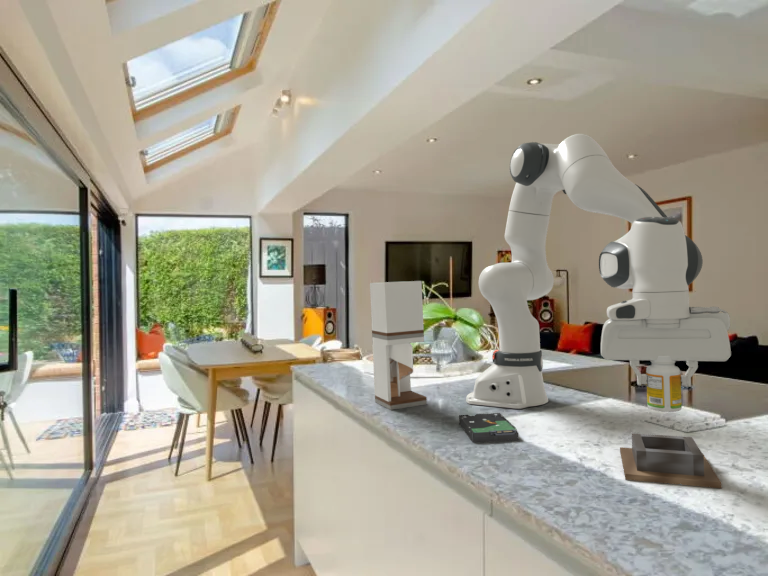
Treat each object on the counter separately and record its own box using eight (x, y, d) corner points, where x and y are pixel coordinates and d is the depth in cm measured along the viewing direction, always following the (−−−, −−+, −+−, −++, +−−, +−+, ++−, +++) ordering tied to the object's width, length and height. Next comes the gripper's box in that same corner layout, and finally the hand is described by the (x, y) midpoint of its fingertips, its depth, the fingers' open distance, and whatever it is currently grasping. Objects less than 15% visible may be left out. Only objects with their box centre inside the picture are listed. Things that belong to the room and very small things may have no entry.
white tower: (390, 409, 141) (384, 282, 140) (375, 402, 150) (369, 283, 150) (426, 404, 145) (421, 280, 145) (409, 396, 155) (404, 281, 154)
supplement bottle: (678, 405, 93) (676, 352, 93) (685, 413, 88) (683, 356, 87) (644, 404, 94) (643, 351, 94) (650, 411, 89) (648, 356, 89)
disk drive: (458, 426, 125) (472, 445, 110) (457, 414, 125) (472, 432, 110) (500, 423, 125) (520, 441, 111) (499, 412, 125) (519, 429, 111)
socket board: (625, 479, 87) (624, 453, 87) (620, 452, 100) (619, 429, 100) (721, 488, 82) (720, 460, 82) (702, 458, 95) (702, 434, 95)
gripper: (724, 305, 90) (727, 383, 90) (598, 307, 97) (601, 380, 98) (734, 307, 84) (737, 391, 84) (599, 310, 92) (602, 387, 92)
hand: (663, 385), depth 91 cm, fingers closed on supplement bottle, 5 cm apart
